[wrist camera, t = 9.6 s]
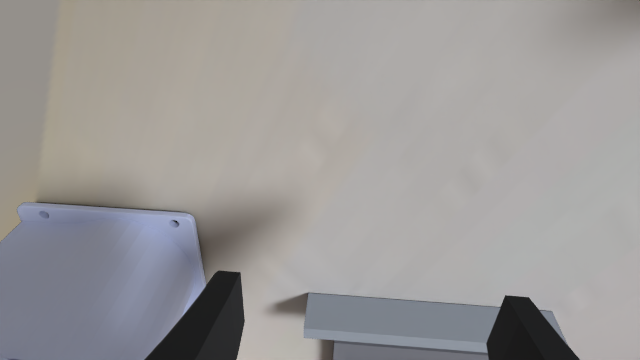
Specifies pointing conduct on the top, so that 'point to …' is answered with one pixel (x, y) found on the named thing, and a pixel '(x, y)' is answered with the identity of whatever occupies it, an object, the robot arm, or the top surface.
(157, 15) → the top surface
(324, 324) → the low wall
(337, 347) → the tray
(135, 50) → the top surface
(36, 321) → the robot arm
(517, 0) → the top surface
